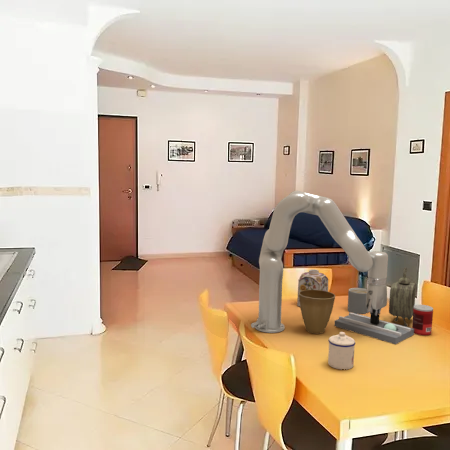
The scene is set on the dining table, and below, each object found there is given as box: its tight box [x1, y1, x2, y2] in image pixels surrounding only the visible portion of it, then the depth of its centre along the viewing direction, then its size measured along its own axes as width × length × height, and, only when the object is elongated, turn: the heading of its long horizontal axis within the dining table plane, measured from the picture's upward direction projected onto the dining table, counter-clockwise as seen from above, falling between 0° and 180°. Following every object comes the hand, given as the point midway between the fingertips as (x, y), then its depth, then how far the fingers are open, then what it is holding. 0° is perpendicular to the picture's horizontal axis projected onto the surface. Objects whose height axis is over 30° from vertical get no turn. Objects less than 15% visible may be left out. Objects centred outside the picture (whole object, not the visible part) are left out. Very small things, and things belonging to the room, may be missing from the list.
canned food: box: [411, 304, 434, 337], centre depth 199 cm, size 8×8×11 cm
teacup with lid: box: [327, 331, 356, 371], centre depth 167 cm, size 12×9×12 cm
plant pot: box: [299, 290, 336, 335], centre depth 199 cm, size 15×15×16 cm
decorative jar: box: [296, 268, 329, 307], centre depth 235 cm, size 12×12×18 cm
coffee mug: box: [347, 287, 370, 315], centre depth 230 cm, size 13×10×10 cm
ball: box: [384, 322, 396, 331], centre depth 196 cm, size 5×5×5 cm
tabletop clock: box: [388, 266, 417, 327], centre depth 211 cm, size 14×9×25 cm, turn 152°
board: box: [333, 312, 415, 345], centre depth 201 cm, size 28×16×4 cm, turn 44°
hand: (374, 323), depth 201 cm, fingers closed
